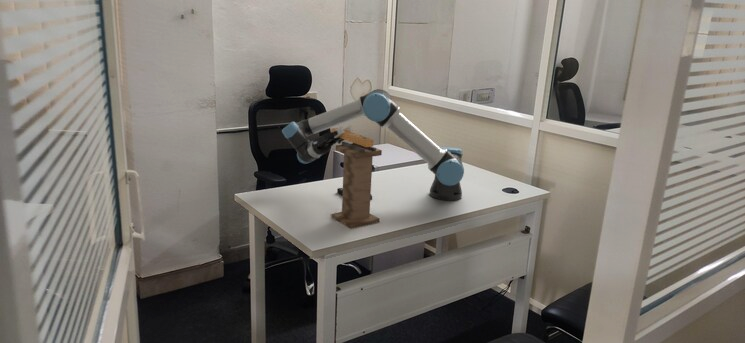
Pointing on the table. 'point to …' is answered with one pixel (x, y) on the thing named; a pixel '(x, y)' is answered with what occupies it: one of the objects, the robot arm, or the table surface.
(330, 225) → the table surface
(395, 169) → the table surface
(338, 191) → the disk drive
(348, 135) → the wood grain block
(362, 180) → the stand
